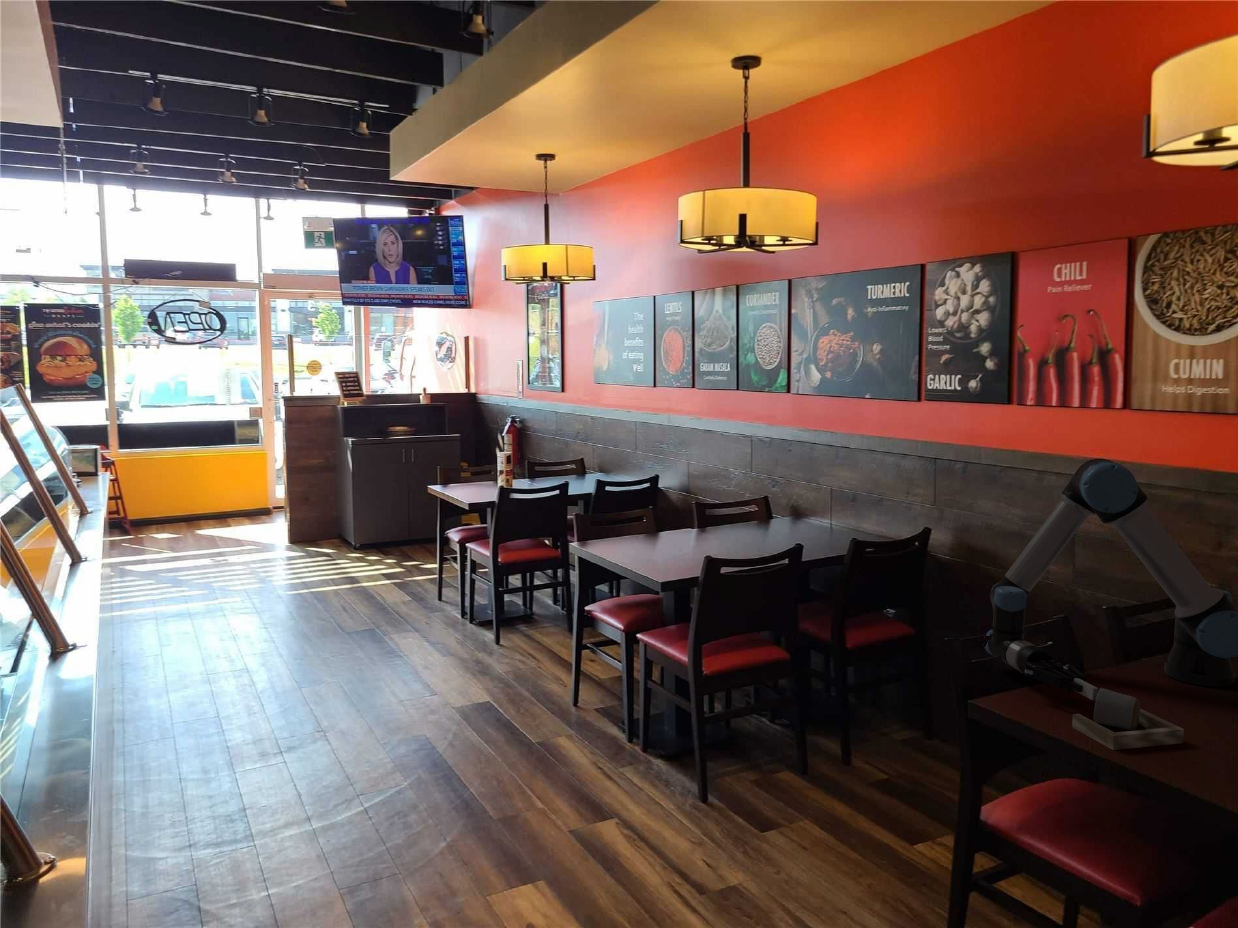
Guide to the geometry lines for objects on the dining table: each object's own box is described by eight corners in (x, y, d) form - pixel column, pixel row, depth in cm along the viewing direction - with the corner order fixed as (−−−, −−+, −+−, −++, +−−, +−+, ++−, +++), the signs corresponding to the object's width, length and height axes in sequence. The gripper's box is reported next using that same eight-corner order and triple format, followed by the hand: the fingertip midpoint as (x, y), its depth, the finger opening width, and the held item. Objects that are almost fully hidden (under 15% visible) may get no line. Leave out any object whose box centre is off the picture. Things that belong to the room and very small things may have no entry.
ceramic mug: (1135, 736, 187) (1137, 701, 186) (1092, 726, 192) (1094, 692, 191) (1141, 721, 196) (1143, 688, 195) (1099, 712, 200) (1102, 680, 200)
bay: (1138, 721, 195) (1139, 708, 195) (1183, 742, 184) (1184, 729, 183) (1072, 727, 192) (1072, 714, 192) (1112, 749, 180) (1113, 735, 180)
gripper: (1052, 673, 219) (1119, 709, 195) (1005, 675, 217) (1068, 711, 194) (1054, 644, 218) (1122, 676, 195) (1007, 645, 216) (1070, 678, 193)
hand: (1095, 694), depth 194 cm, fingers closed
